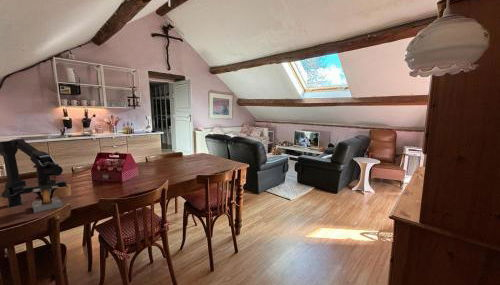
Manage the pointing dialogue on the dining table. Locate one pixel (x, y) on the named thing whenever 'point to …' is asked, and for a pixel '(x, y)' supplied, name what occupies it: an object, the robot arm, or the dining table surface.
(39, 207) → the grey slotted block
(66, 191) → the wooden mallet
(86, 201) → the dining table surface
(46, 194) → the wedge pin
